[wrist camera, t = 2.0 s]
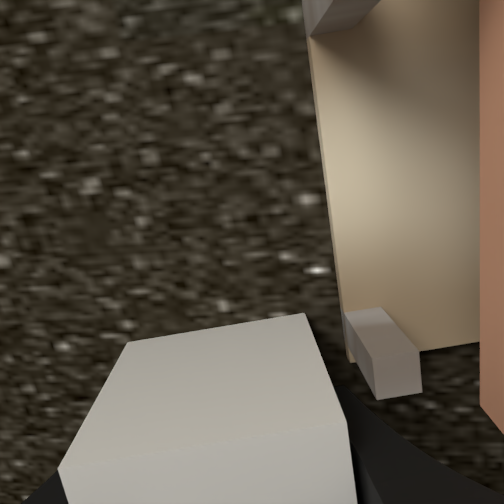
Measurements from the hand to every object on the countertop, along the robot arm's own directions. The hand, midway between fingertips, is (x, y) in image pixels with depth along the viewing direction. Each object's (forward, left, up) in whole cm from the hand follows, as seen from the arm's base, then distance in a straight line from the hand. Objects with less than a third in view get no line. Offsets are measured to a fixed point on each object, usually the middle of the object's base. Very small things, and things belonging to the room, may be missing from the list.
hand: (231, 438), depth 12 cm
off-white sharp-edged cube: (0, 0, -2) cm, 2 cm away
